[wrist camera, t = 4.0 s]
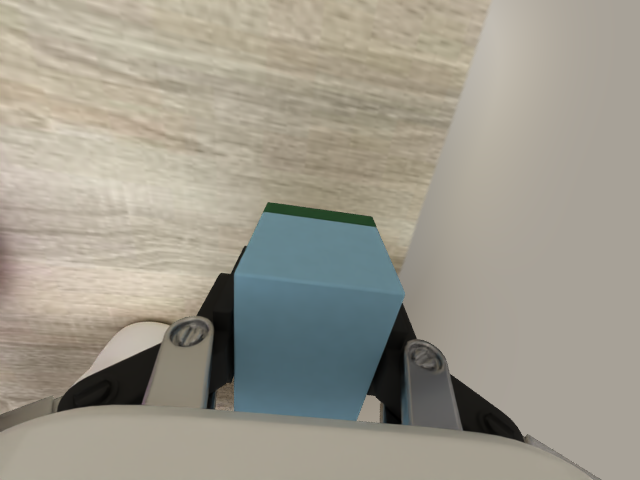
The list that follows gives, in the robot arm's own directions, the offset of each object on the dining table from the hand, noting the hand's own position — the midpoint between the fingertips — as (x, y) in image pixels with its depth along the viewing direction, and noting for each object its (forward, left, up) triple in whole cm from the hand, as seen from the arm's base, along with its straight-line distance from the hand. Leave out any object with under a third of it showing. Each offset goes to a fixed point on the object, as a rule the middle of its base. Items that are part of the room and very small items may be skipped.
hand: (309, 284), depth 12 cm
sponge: (0, 0, -1) cm, 1 cm away
